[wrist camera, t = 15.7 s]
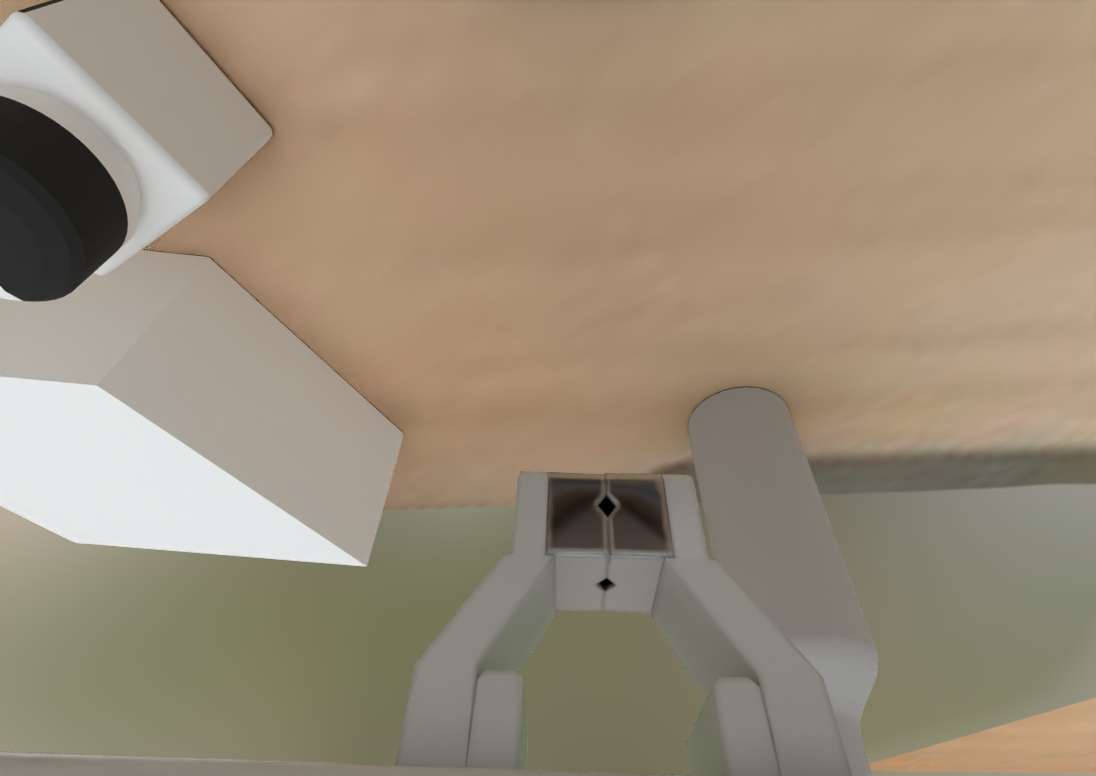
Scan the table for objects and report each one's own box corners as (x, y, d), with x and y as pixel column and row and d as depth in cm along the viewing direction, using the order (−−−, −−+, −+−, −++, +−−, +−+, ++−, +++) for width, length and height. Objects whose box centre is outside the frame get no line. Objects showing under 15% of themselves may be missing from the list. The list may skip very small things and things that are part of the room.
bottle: (693, 461, 42) (805, 1047, 22) (681, 396, 38) (808, 1052, 17) (789, 447, 41) (1005, 1058, 20) (788, 378, 36) (1063, 1066, 16)
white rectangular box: (367, 486, 45) (326, 614, 38) (-92, 316, 35) (-270, 445, 28) (449, 369, 37) (418, 504, 29) (-124, 101, 27) (-393, 203, 19)
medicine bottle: (137, -30, 23) (-131, 50, 14) (278, 131, 27) (138, 271, 18) (39, 70, 26) (-237, 191, 17) (181, 204, 30) (18, 357, 21)
